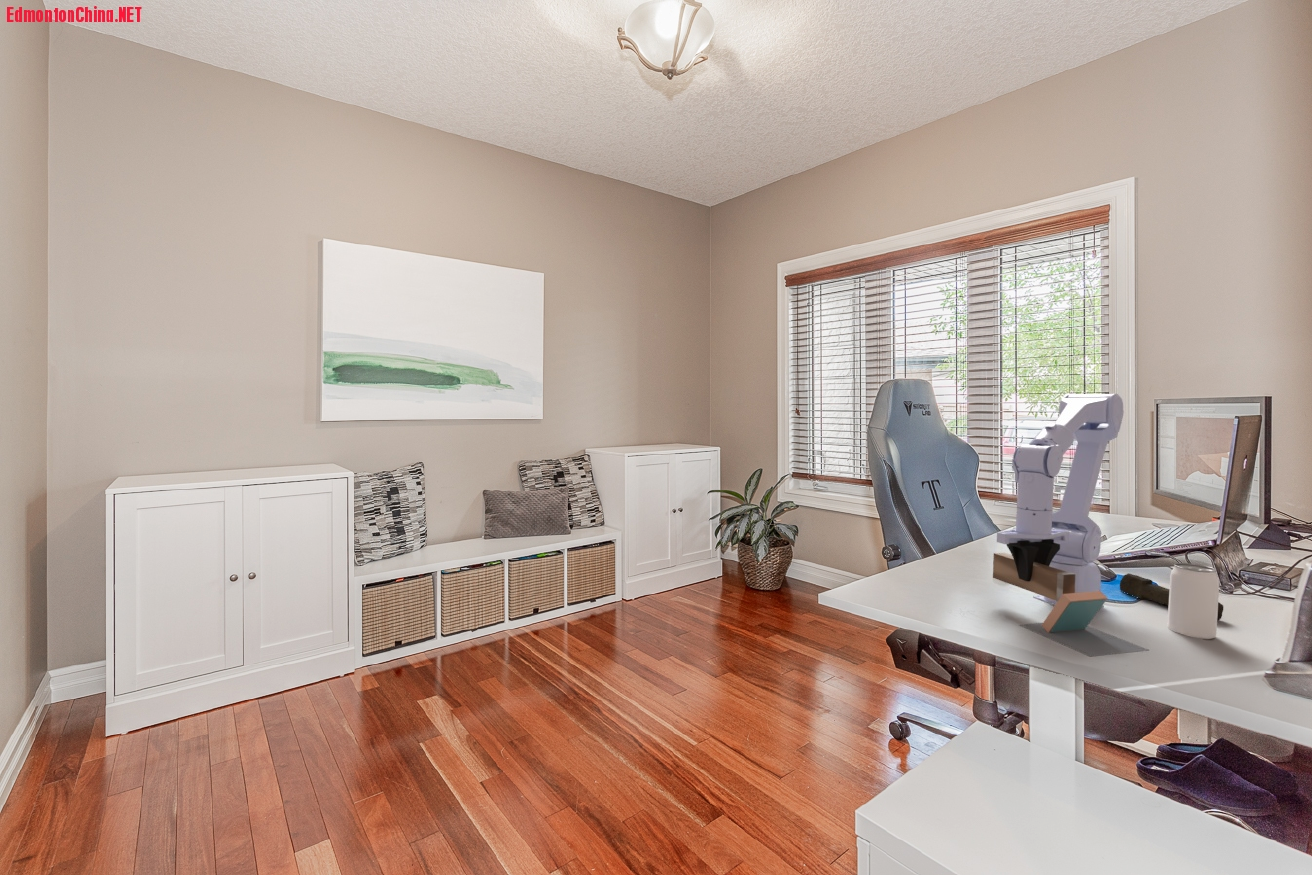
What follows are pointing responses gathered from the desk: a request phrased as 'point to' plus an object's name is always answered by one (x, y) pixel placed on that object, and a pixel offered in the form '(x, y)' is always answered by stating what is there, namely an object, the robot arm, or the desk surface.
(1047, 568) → the wooden plank
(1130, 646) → the mat
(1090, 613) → the tile
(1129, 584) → the hand tool
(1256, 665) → the desk surface
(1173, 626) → the can
